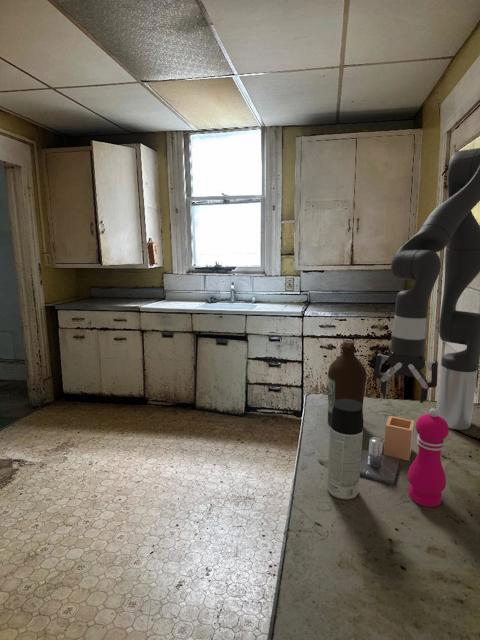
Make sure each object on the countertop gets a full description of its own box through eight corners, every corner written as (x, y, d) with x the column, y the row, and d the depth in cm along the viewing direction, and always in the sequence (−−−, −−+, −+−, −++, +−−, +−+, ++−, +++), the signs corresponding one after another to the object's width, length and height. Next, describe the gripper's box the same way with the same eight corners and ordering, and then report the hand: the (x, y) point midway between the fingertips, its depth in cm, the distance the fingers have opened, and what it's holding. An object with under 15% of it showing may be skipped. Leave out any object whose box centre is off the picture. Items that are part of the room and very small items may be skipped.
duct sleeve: (387, 443, 105) (389, 415, 103) (411, 449, 102) (414, 420, 101) (383, 454, 100) (385, 425, 98) (409, 460, 97) (412, 430, 95)
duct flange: (357, 452, 101) (359, 426, 99) (399, 462, 96) (401, 436, 95) (347, 472, 92) (349, 444, 91) (393, 484, 88) (395, 455, 86)
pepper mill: (427, 513, 79) (438, 419, 74) (398, 492, 85) (406, 405, 81) (451, 502, 82) (462, 412, 78) (421, 483, 88) (430, 399, 84)
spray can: (359, 485, 88) (365, 400, 83) (357, 504, 81) (364, 413, 77) (328, 479, 90) (332, 395, 86) (324, 497, 83) (329, 408, 79)
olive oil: (358, 416, 121) (363, 337, 116) (366, 433, 111) (373, 346, 105) (323, 415, 122) (326, 336, 117) (328, 432, 111) (332, 346, 106)
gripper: (442, 334, 95) (435, 398, 98) (380, 328, 101) (375, 388, 104) (441, 341, 88) (433, 409, 91) (375, 334, 95) (370, 398, 98)
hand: (402, 398), depth 98 cm, fingers open, 8 cm apart
